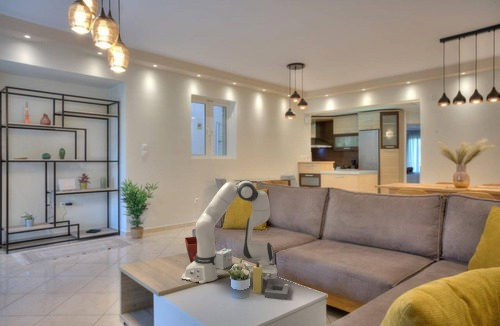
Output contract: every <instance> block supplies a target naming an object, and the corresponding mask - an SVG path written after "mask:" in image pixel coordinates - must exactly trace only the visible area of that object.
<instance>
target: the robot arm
mask: <svg viewBox="0 0 500 326" xmlns="http://www.w3.org/2000/svg"><path fill="white" fill-rule="evenodd" d="M238 197H239V198H240V199H241V200H243V201H246V202H250V203H251V209H252V210H251V215H250V216H248V217H247V221H246V227H245V236H244V243H243V249H242V253H243V256H244V257H245V258H247V259H249V260H250V259H258V261H257V262H259V266H262V279H263V281H267V280H268V279H270V280H277V278H278V268H277V265H276V264H273V260H274V254H275V253H274V247H273V245H272V244H271V243H270V242H265V241H262V242H260V241H259V242H258V241H256V242H255V241H252V239H253V231H254V228H255V227H257V226H261V225H263V224H265V223H266V222H267V221H269V219H270V216H271V204H270V198H269V196H268V193H267V192H266V191H263V190H257V189H256V186H255V184H254V182H252V181H251V180H250V179H249V180H248V179H244V180H240V181H239V182H237V183H234V182H232V181H226V182H225V183H224V184H223V185H222V186H221V187H220V189H219V190H217V192H216V194H214V197H213V198H212V199H211V201H210V202H209V204H208V205H207V206H206V207H205V210H204V211H203V212H202V213H201V215H200V216H199V218H198V220H196V222H195V237H196V238H197V254H196V255H195V257H194V259H195V261H193V262H192V263H191V262H190V263H189V264H188V265H187V266H186V268H185V271H184V273H183V274H182V275H181V278H183V279H191V278H194V279H199V280H201V281H199V283H198V284H206V283H207V282H213V281H215V280H218V278H219V275H218V271H217V268H216V245H215V241H216V238H215V228H216V225H217V224H218V223H219V221H220V220H221V218H222V217H223V216H224V214H225V213H226V212H227V210H229V208H230V207H231V205H232V203H233V202H234V201H235V199H237V198H238ZM253 267H254V266H251V265H248V268H249V270H250V279H253ZM217 276H218V277H217Z"/></svg>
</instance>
